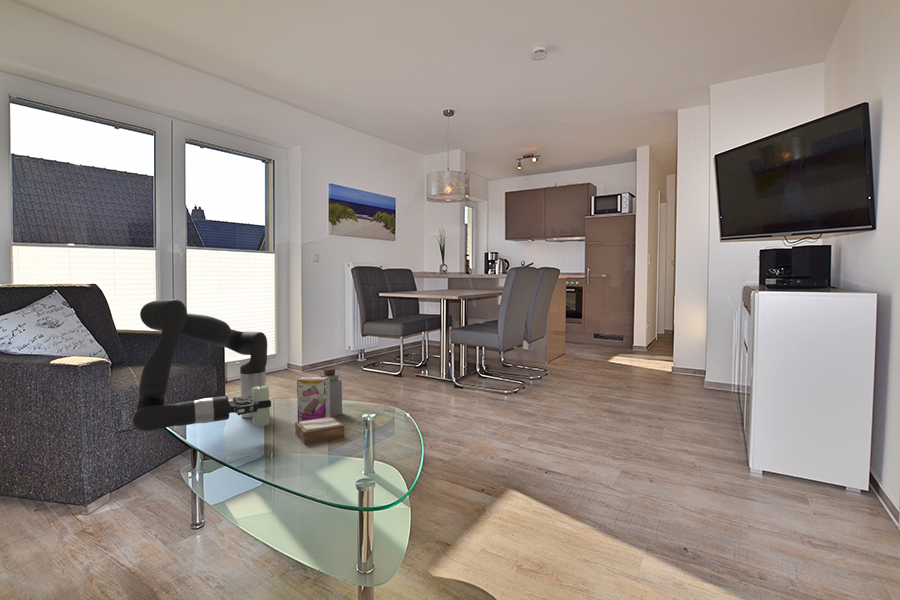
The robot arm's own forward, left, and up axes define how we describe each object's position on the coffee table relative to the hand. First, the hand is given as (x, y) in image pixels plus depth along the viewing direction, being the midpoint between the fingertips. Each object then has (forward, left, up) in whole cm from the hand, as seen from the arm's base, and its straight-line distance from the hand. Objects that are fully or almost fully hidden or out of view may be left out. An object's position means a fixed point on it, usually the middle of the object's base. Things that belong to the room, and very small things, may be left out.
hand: (269, 401), depth 150 cm
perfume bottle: (-20, +26, -13) cm, 35 cm away
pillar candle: (0, -2, -7) cm, 7 cm away
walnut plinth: (+4, +15, -13) cm, 20 cm away
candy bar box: (-14, +18, -13) cm, 26 cm away
